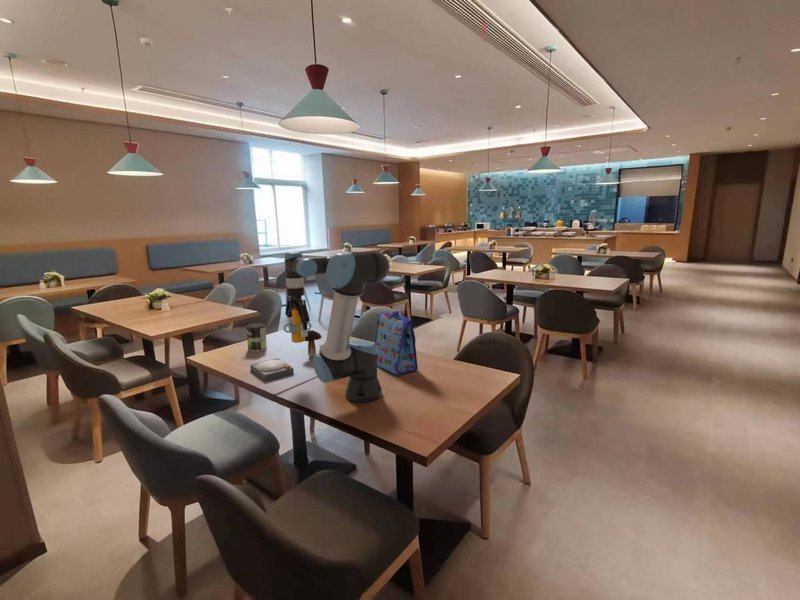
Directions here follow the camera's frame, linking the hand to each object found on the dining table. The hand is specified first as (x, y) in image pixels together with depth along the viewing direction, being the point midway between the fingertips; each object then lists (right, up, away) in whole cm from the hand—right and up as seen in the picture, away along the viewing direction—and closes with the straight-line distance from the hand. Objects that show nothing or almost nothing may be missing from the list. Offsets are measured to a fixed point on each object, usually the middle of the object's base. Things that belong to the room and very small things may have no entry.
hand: (298, 333), depth 182 cm
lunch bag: (+44, -19, +18) cm, 51 cm away
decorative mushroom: (-1, -16, +32) cm, 36 cm away
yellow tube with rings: (0, -4, +1) cm, 4 cm away
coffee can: (-35, -13, +46) cm, 59 cm away
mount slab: (-16, -20, +12) cm, 28 cm away
